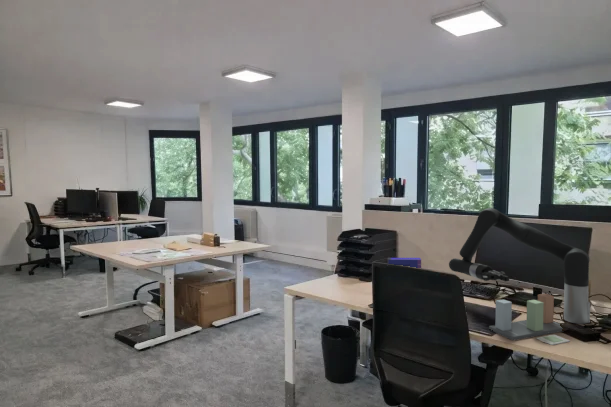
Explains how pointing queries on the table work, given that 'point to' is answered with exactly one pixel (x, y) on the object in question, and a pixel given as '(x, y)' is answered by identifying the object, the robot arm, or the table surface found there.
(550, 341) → the card
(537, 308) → the sage block
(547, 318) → the terracotta block
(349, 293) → the table surface
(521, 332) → the board
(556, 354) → the table surface
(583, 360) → the table surface
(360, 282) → the table surface
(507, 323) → the greyblue block
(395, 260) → the cereal box
